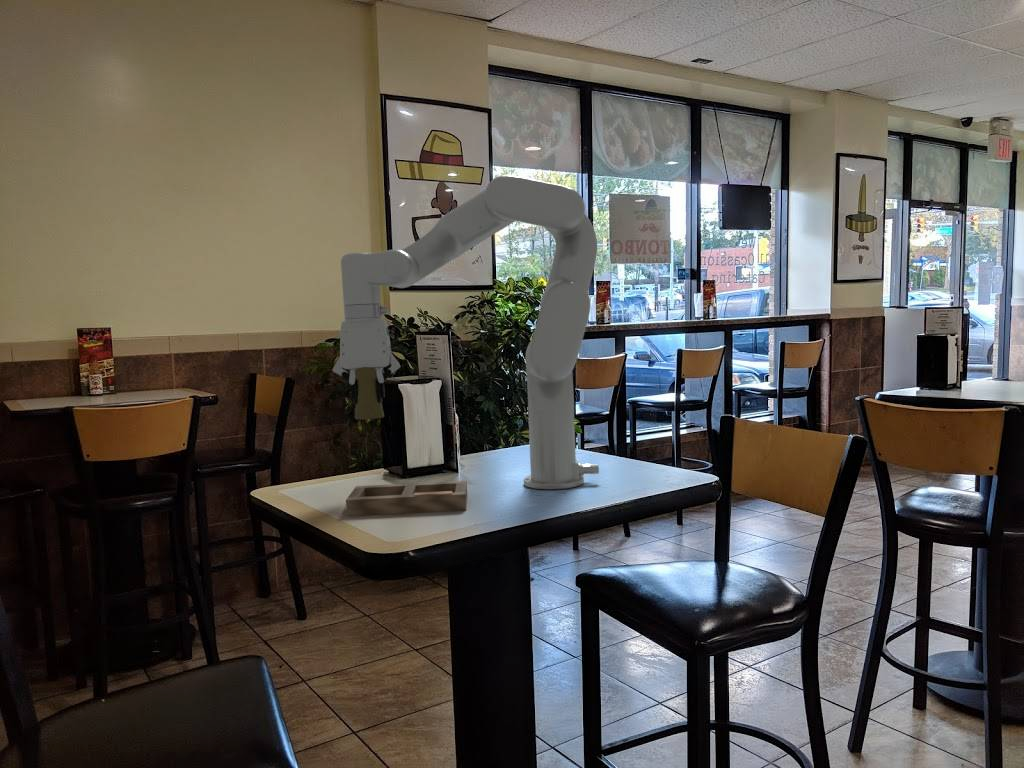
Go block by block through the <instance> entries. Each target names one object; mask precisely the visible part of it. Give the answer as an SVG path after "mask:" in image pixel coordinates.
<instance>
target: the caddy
mask: <svg viewBox="0 0 1024 768" xmlns="http://www.w3.org/2000/svg"><path fill="white" fill-rule="evenodd" d="M467 504H468V482H467V480H457V481H456V480H455V481H454V480H453V481H435V482H434V481H431V482H416V483H415V482H413V483H412V482H411V483H395V484H394V483H393V484H375V485H374V484H373V485H356V486H355V487H354V489H353V490H352V491H351V493H350V494H349V495H348V497H347V498H346V499H345V508H346V516H347V517H354V516H355V517H357V516H358V517H359V516H375V515H391V514H392V515H395V514H397V515H398V514H413V513H414V514H416V513H432V512H433V513H434V512H435V513H436V512H452V511H455V512H456V511H467Z"/></svg>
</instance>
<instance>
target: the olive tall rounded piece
mask: <svg viewBox="0 0 1024 768" xmlns="http://www.w3.org/2000/svg"><path fill="white" fill-rule="evenodd" d="M355 378H356V380H357V385H358V400H357V401H358V403H357V404H355V409H354V411H355V412H354V419H355V420H376V419H382V418H385V413H384V409H383V403H382V402H383V401H382V402H381V403H378V400H377V395H376V384H377V380H378V378H377V372H376V369H375V368H371V367H362V368H358V369H356V370H355Z"/></svg>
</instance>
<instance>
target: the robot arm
mask: <svg viewBox="0 0 1024 768" xmlns="http://www.w3.org/2000/svg"><path fill="white" fill-rule="evenodd" d="M515 222H520V223H524V224H529V225H534V226H539V227H544V229H545V230H546V231H547V232H549V234H551V236H552V237H553V239H554V242H555V252H554V256H553V260H552V264H551V269H550V272H549V276H548V279H547V283H546V287H545V289H544V291H543V294H542V295H541V298H540V309H539V312H538V316H537V319H536V320H537V321H536V324H535V328H534V331H533V334H532V339H531V340H530V342H529V343H528V345H527V348H526V351H525V370H526V373H525V374H526V383H527V384H526V387H527V407H528V408H527V409H528V411H527V413H528V432H529V433H528V434H529V435H528V437H529V440H528V441H529V457H530V458H529V460H530V463H529V464H530V475H527V476H525V477H524V478H523V485H524V486H526V487H527V488H531V489H535V490H536V489H537V490H563V489H571V488H575V487H579V486H581V485H583V484H584V483H585V477H584V475H585V474H586V475H588V474H590V475H596V474H599V472H600V469H599V464H598V463H597V464H591V463H585V464H583V463H579V461H578V460H577V459H576V458H577V457H576V434H575V433H576V432H575V430H576V428H575V398H574V382H573V381H574V379H573V378H574V377H573V370H574V368H575V366H576V363H577V361H578V357H579V353H580V349H581V346H582V343H583V339H584V336H585V333H586V328H587V325H588V321H589V318H590V312H591V297H590V296H589V289H590V286H591V282H592V278H593V273H594V269H595V264H596V261H597V253H598V239H597V235H596V231H595V229H594V226H593V224H592V222H591V220H590V218H589V217H588V216H587V214H586V204H585V201H584V198H583V197H582V196H581V194H580V193H579V192H578V191H576V190H575V189H573V188H572V187H570V186H565V185H563V184H557V183H551V182H546V181H541V180H536V179H532V178H527V177H521V176H518V175H512V174H502V175H499V176H496V177H494V178H493V179H492V180H490V182H489V183H488V184H487V186H486V187H485V189H484V190H482V191H481V192H479V193H477V195H475V196H473V197H471V198H470V199H468V200H467V201H465V202H464V203H462V204H460V205H458V206H456V207H455V208H453V209H452V210H450V211H448V212H446V214H444V215H443V216H442V217H441V218H439V220H438V221H437V222H436V224H435V225H434V226H433V227H432V228H431V229H430V231H428V232H427V233H426V234H425V235H423V236H422V237H421V238H418V240H416V241H415V242H412V243H411V244H410V245H407V246H406V247H405V248H403V249H402V250H401V249H388V250H383V251H378V252H350V253H346V254H344V255H343V256H342V257H341V260H340V268H341V269H340V271H341V282H342V283H341V285H342V298H343V299H342V300H343V311H344V321H341V325H340V326H341V327H340V335H339V337H340V338H339V343H340V344H339V356H338V358H337V360H336V362H335V364H334V365H333V368H332V372H333V373H334V374H335V373H336V374H337V375H339V376H341V377H342V378H343V379H344V380H346V381H347V382H348V383H349V384H350V388H351V399H352V400H354V404H355V405H356V404H357V403H358V401H357V400H358V385H357V380H356V378H355V370H356V369H358V368H362V367H371V368H375V369H376V372H377V378H378V379H377V384H376V395H377V400H378V403H381V402H383V399H385V397H386V392H385V391H386V390H385V381H386V380H387V379H388V378H389V377H390V376H391V375H392V374H393V373H395V372H396V371H397V370H398V369H400V368H401V365H400V363H399V361H398V360H397V359H396V357H395V356H394V355H393V353H392V348H391V346H392V345H391V339H390V332H389V327H388V323H387V320H386V319H383V318H382V317H383V316H384V315H387V314H389V313H390V311H389V307H388V306H383V305H382V301H381V288H380V287H381V286H383V287H393V288H396V289H405V288H409V287H411V286H412V285H415V284H416V283H418V282H420V281H421V280H423V279H424V278H426V277H428V276H429V275H431V274H433V273H434V272H436V271H437V270H439V269H440V268H443V266H445V265H446V264H448V263H450V262H451V261H453V260H455V259H457V258H459V257H460V256H462V255H463V254H465V253H466V252H468V251H469V250H471V249H473V248H474V247H476V246H477V245H479V244H481V242H483V241H485V240H486V239H489V238H490V237H492V236H493V235H495V234H496V233H498V232H500V231H502V230H504V229H505V228H507V227H508V226H511V225H512V224H513V223H515ZM388 366H390V367H389V368H387V369H386V370H385V371H384V368H386V367H388ZM347 370H349V371H347Z"/></svg>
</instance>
